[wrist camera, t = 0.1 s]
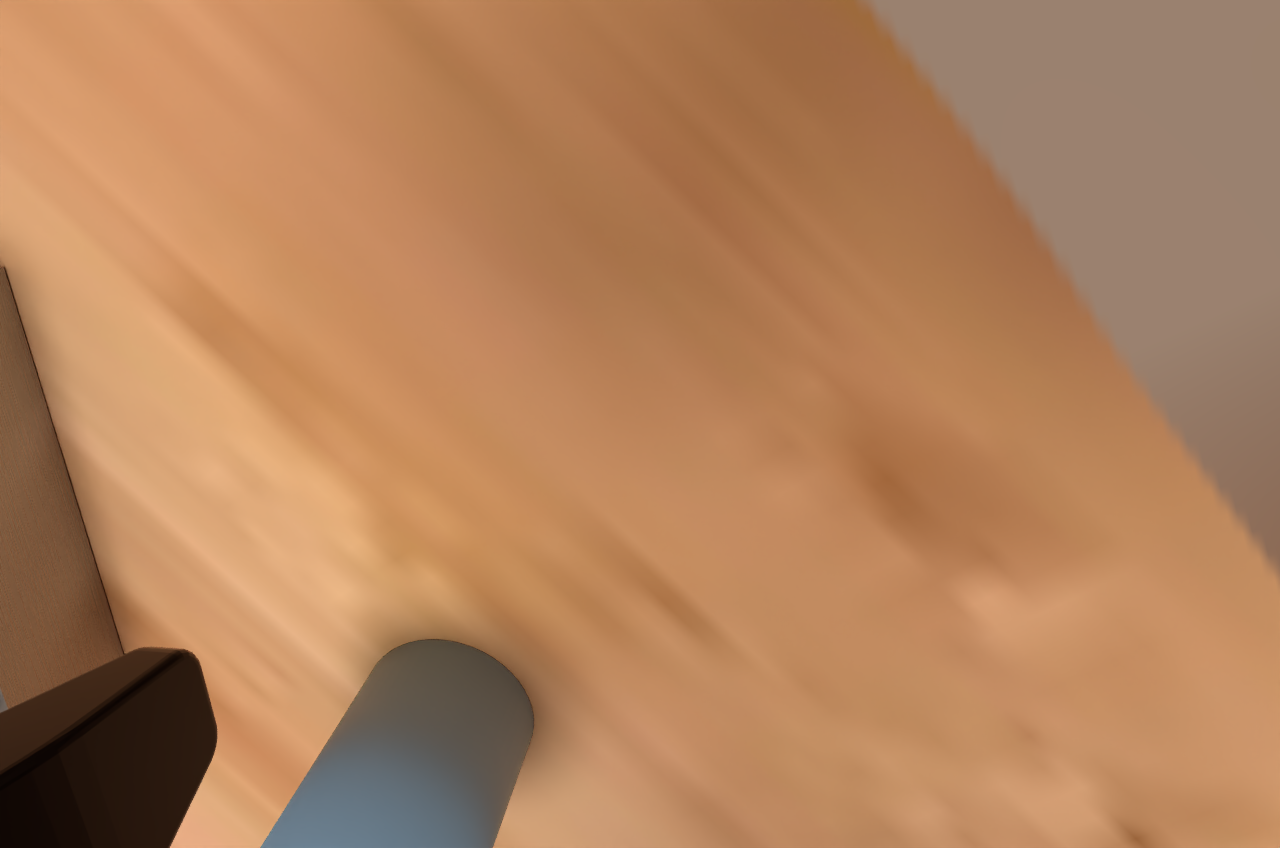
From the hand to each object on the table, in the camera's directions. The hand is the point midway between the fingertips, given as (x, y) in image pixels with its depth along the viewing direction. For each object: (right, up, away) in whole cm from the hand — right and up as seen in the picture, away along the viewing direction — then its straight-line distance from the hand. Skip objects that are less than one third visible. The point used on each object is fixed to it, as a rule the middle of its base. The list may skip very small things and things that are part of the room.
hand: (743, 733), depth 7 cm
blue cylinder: (-6, -6, +20) cm, 22 cm away
